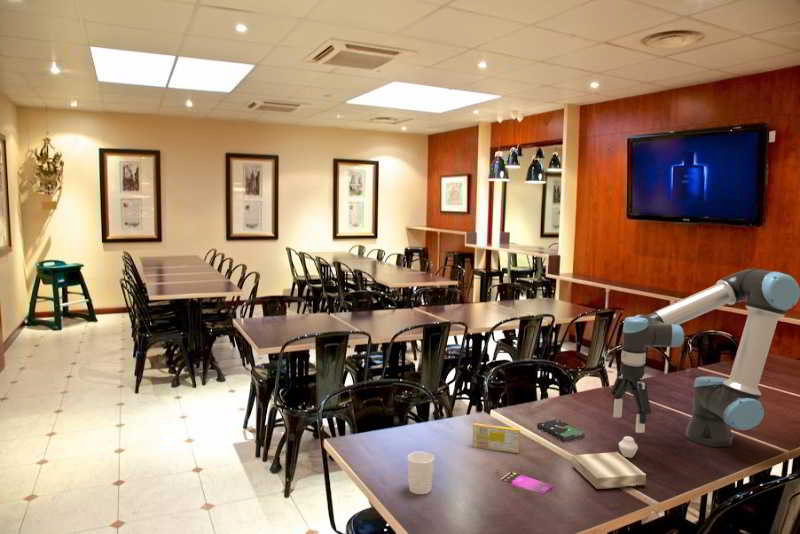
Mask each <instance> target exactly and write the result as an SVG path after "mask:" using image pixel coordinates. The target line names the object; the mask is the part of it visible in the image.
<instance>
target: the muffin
mask: <svg viewBox="0 0 800 534" xmlns="http://www.w3.org/2000/svg"><path fill="white" fill-rule="evenodd" d="M618 447H619V450H620V453H621V455H622V456H623V457H624V458H626V457H628V458H627V459H632V458H633V457H634V456H635V455H636V453H637V450H639V449H638V448H639V447H638V445H637V443H636V442H635V439H634V438H633V437H632V436H629V435H626V436H623V437H622V440H621V441H619V443H618Z"/></svg>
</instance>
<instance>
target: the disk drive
mask: <svg viewBox="0 0 800 534" xmlns="http://www.w3.org/2000/svg"><path fill="white" fill-rule="evenodd" d="M536 427H537V428H539V429H541V430H543V431H544V432H547V433H548V434H550V435H552V436H554V437H556V438H558V439H560V440H561V441H560V442H562V441H563V442H565V443H567V442H566V441H570V440H574V439H578V440H580V439H579V438H583V439H585V437H586V434H585V433H584V431H582V430H581V429H579V428H577V427H574V426H572V425H570V424H569V423H566V422H563V421H562V420H560V419H552V420H545V422H537V424H536ZM537 428H536V429H537ZM539 429H538V430H539ZM543 431H542V432H543ZM544 432H543V433H544ZM548 434H547V435H548ZM550 435H549V436H550ZM552 436H551V437H552ZM554 437H553V438H554ZM556 438H555V439H556ZM558 439H557V440H558ZM574 441H575V440H574ZM563 442H562V443H563ZM570 442H571V441H570Z"/></svg>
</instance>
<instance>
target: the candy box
mask: <svg viewBox="0 0 800 534" xmlns="http://www.w3.org/2000/svg"><path fill="white" fill-rule="evenodd" d="M520 431H521V429H520V428H515V427H506V426H499V425H491V424H485V423H484V424H483V423H475V422H473V424H472V442H471V443H472V448H478V449H485V450H493V451H498V452H499V451H500V452H506V453H512V454H513V453H514V454H519V453H520Z"/></svg>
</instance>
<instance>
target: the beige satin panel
mask: <svg viewBox="0 0 800 534" xmlns="http://www.w3.org/2000/svg"><path fill="white" fill-rule="evenodd" d="M571 466H573V468H574V469H576V471H577V472H578V473H580V474H581V475H582V476H583V477H584V478H585V479H586V480H587V481H589V483H590V484H592V485H593V487H594V488H595V489H597V490H603V489H615V488H617V489H618V488H627V487H626V486H631V487H640V486H645V485H646V482H647V481H646V479H647V474H646V473H644V472H643V471H642V470H641V469H640V468H638V466H636V465H635V464H634V463H632V462H630V461H629V460H628V458H626V457H624V456H623V455H622V454H620V453H619V452H618V451H615V452H600V453H585V454H572V455H571ZM636 485H638V486H636ZM639 485H640V486H639Z"/></svg>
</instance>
